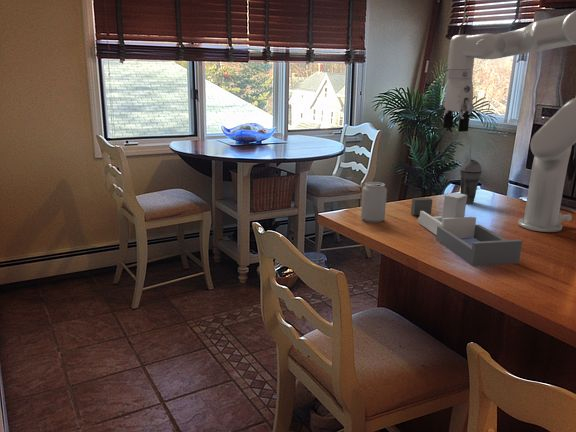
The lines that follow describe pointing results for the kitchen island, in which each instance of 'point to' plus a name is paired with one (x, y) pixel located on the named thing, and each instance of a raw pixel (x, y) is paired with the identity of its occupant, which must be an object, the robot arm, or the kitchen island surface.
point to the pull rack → (442, 220)
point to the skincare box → (454, 205)
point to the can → (373, 202)
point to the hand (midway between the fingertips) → (455, 129)
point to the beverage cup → (470, 178)
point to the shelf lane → (482, 247)
